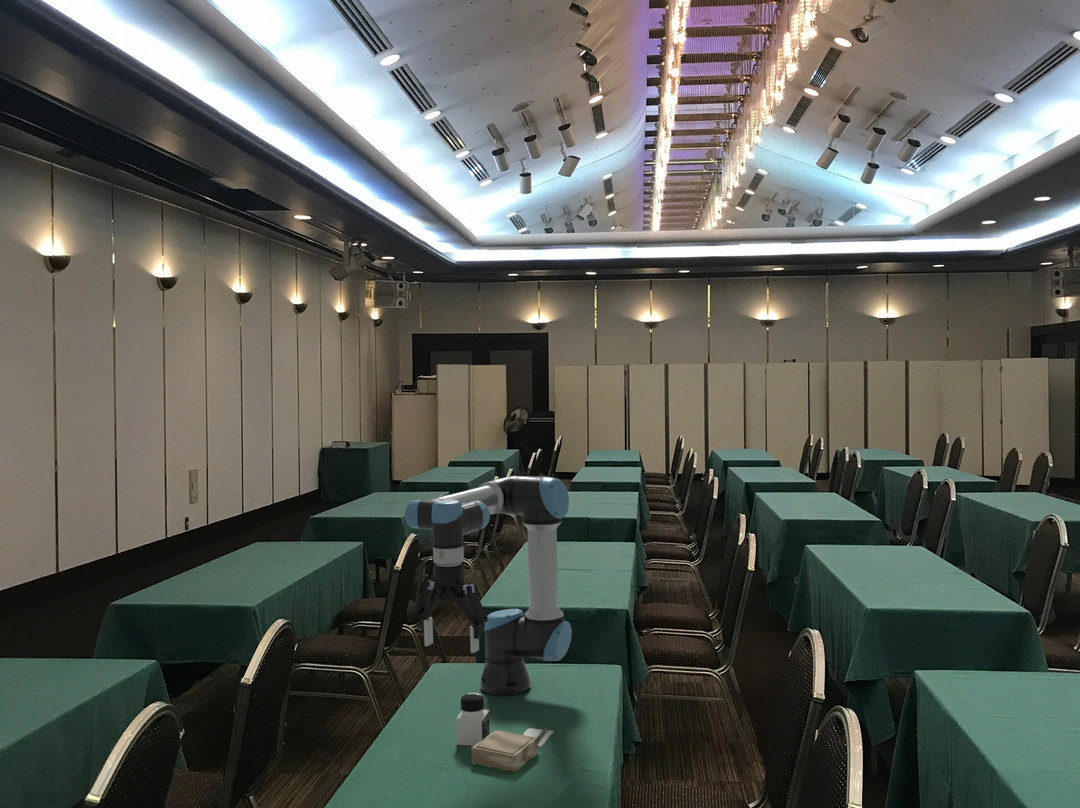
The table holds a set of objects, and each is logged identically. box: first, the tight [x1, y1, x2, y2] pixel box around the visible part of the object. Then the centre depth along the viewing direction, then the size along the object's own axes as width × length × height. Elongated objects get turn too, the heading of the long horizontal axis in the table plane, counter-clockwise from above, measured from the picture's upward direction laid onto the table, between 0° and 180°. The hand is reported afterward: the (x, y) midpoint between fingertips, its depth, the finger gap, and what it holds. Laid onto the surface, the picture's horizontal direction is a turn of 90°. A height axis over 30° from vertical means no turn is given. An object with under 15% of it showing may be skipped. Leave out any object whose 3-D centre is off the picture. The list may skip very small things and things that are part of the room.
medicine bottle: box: [455, 692, 491, 747], centre depth 238 cm, size 7×7×12 cm
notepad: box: [522, 727, 554, 748], centre depth 239 cm, size 10×7×2 cm
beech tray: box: [471, 729, 539, 773], centre depth 227 cm, size 12×12×4 cm
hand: (451, 648), depth 226 cm, fingers open, 13 cm apart
